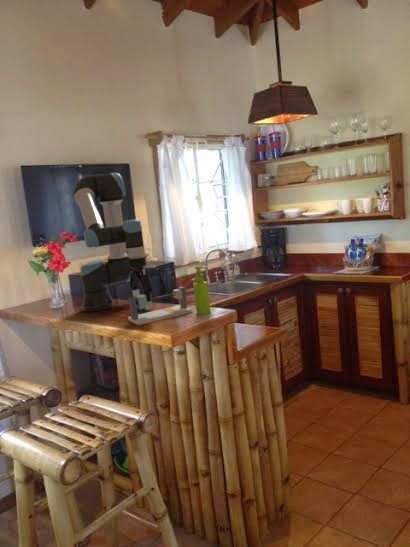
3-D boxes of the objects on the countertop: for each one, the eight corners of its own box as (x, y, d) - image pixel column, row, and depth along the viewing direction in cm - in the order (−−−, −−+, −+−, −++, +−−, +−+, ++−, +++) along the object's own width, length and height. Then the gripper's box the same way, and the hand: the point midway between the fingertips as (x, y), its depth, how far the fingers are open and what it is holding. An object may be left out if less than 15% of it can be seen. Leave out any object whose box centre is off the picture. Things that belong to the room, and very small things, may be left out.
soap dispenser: (210, 314, 208) (204, 267, 205) (194, 315, 211) (189, 268, 208) (214, 310, 214) (209, 264, 211) (199, 311, 216) (194, 265, 213)
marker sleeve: (135, 307, 213) (134, 296, 212) (146, 305, 215) (145, 293, 214) (140, 309, 209) (138, 297, 208) (151, 306, 211) (149, 295, 210)
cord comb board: (128, 320, 216) (124, 296, 214) (180, 308, 227) (177, 285, 225) (138, 325, 205) (134, 300, 203) (192, 312, 216) (189, 288, 214)
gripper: (118, 256, 218) (125, 304, 221) (138, 260, 196) (145, 313, 199) (134, 254, 221) (141, 300, 224) (156, 257, 199) (163, 309, 203)
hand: (143, 306), depth 212 cm, fingers open, 13 cm apart
